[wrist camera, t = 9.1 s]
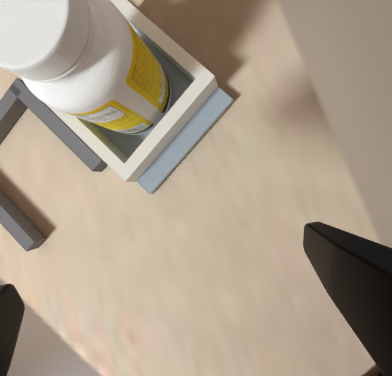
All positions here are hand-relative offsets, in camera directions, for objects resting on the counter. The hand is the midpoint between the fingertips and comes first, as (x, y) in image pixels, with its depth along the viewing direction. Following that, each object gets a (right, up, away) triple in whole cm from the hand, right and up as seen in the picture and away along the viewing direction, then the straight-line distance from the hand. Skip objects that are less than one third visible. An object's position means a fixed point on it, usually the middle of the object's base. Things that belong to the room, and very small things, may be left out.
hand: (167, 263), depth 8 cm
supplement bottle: (-3, +9, +11) cm, 14 cm away
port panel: (-3, +9, +11) cm, 14 cm away
